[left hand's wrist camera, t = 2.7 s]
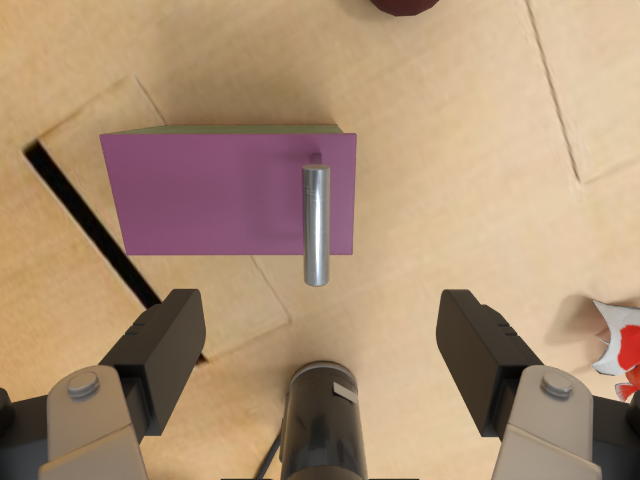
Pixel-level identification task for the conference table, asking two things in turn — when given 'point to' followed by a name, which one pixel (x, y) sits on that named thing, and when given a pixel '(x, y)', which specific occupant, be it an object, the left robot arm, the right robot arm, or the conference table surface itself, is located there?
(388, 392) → the conference table surface
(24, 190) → the conference table surface
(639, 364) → the fish
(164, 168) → the lid
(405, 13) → the potato
